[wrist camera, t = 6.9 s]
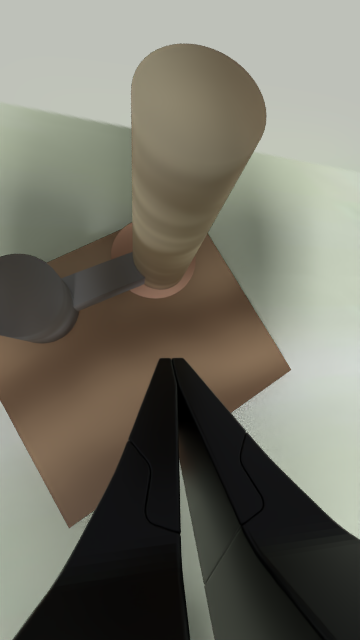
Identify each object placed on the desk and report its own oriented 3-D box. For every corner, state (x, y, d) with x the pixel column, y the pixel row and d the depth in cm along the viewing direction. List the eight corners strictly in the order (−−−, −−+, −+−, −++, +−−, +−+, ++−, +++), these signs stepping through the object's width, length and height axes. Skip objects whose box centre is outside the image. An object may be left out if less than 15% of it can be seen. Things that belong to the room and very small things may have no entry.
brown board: (284, 369, 17) (293, 369, 16) (72, 518, 14) (68, 530, 13) (184, 206, 18) (187, 197, 17) (-41, 308, 14) (-54, 304, 13)
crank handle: (23, 354, 14) (-262, 330, 4) (-3, 293, 14) (-331, 125, 4) (195, 281, 16) (292, 150, 6) (170, 230, 16) (225, 27, 6)
